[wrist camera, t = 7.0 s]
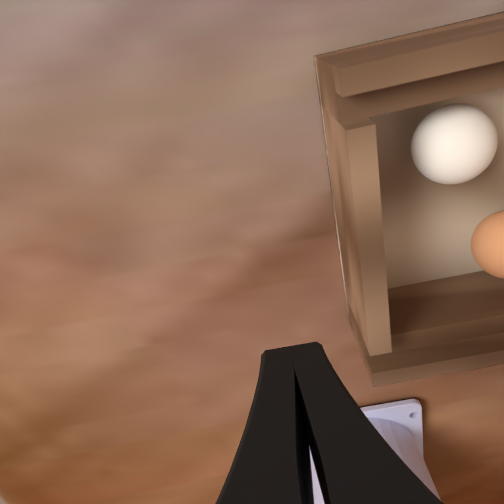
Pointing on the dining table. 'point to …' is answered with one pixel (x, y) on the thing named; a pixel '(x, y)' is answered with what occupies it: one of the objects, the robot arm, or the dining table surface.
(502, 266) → the ball
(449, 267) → the box
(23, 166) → the dining table surface
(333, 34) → the dining table surface
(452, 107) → the ball
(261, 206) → the dining table surface
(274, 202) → the dining table surface
